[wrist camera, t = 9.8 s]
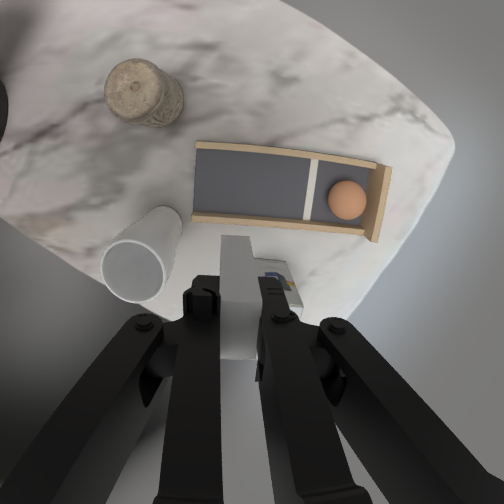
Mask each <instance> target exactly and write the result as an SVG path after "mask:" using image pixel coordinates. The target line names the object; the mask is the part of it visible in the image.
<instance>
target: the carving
mask: <svg viewBox="0 0 504 504" xmlns="http://www.w3.org/2000/svg"><path fill="white" fill-rule="evenodd" d="M104 95H105V100H106V103H107V106H108V108H109V110H110V111H111V113H112V114H113V115H114V116H115V117H116V118H118V119H120V120H121V121H123V122H126V123H129V124H132V125H137V126H146V127H163V126H167V125H168V124H170V123H171V122H173V121H174V120H175V119H176V118H177V117H178V116H179V114H180V113H181V111H182V108H183V92H182V90H181V88H180V86H179V84H178V83H177V81H176V80H175V79H174V78H173V77H172V76H170V75H168V74H167V73H166V72H164V71H163V70H161V69H159V68H158V67H157V66H156V65H155V64H153V63H151V62H150V61H148V60H144V59H130V60H126V61H124V62H122V63H120V64H118V65H117V66H116V67H114V68H113V70H112V71H111V72H110V74H109V76H108V78H107V80H106V83H105V87H104Z"/></svg>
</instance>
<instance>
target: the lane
mask: <svg viewBox="0 0 504 504" xmlns="http://www.w3.org/2000/svg"><path fill="white" fill-rule="evenodd" d="M195 148H197V153H196V167H195V184H194V203H193V213H192V215H191V222H206V223H221V224H235V225H249V226H262V227H275V228H288V229H300V230H311V231H323V232H334V233H345V234H355V235H364V236H365V237H366V238H367V239H368V240H369V241H370V242H376V243H378V238H379V234H380V230H381V225H382V220H383V216H384V211H385V206H386V201H387V195H388V190H389V184H390V179H391V173H392V167H389V166H386V165H382V164H379V163H375V162H370V161H365V160H360V159H354V158H349V157H343V156H337V155H331V154H324V153H317V152H310V151H303V150H296V149H288V148H279V147H270V146H260V145H250V144H238V143H224V142H208V141H196V143H195ZM341 181H353V182H355V183H357V184H358V185H360V186H361V187H362V189H363V190H364V192H365V194H366V200H367V202H366V207H365V209H364V211H363V212H362V214H361V215H359V216H358V217H356V218H354V219H350V220H346V219H341V218H339V217H337V216H336V215H335V214H334V213H333V212H332V211H331V209H330V207H329V204H328V196H329V192H330V190H331V189H332V187H333V186H334V185H335V184H337V183H338V182H341Z"/></svg>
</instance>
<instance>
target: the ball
mask: <svg viewBox="0 0 504 504" xmlns="http://www.w3.org/2000/svg"><path fill="white" fill-rule="evenodd" d="M366 202H367V200H366V194H365V192H364V190H363V189H362V187H361V186H360V185H358V184H357V183H355V182H353V181H341V182H338V183H337V184H335V185H334V186H333V187H332V189H331V190H330V192H329V196H328V204H329V207H330V209H331V211H332V212H333V213H334V214H335V215H336V216H337V217H339V218H341V219H346V220H350V219H354V218H356V217H358V216H359V215H361V214H362V212H363V211H364V209H365V207H366Z"/></svg>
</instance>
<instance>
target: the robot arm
mask: <svg viewBox="0 0 504 504" xmlns="http://www.w3.org/2000/svg"><path fill="white" fill-rule="evenodd" d="M7 112H8V101H7V94H6V90H5V87H4V85H3V83H2V82H1V81H0V141H1V138H2V136H3V133H4V129H5V126H6V120H7ZM183 314H184V315H183V317H182V318H180V319H178V320H176V321H172V322H166V323H162V320H161V319H160V318H159V317H158V316H156V315H153V314H147V313H144V314H138V315H135V316H133V317H131V318H130V319H129V320H128V321H127V322H126V323H125V324H124V325H123V326H122V328H121V329H120V330H119V331H118V332H117V334H116V335H115V336H114V337H113V338H112V340H111V341H110V342H109V343H108V344H107V346H106V347H105V348H104V349H103V351H102V352H101V353H100V354H99V355H98V357H97V358H96V359H95V360H94V362H93V363H92V364H91V366H90V367H89V368H88V369H87V370H86V372H85V373H84V374H83V375H82V377H81V378H80V379H79V380H78V382H77V383H76V384H75V386H74V387H73V388H72V389H71V391H70V392H69V393H68V394H67V396H66V397H65V398H64V400H63V401H62V402H61V404H60V405H59V406H58V407H57V409H56V410H55V411H54V413H53V414H52V415H51V417H50V418H49V420H48V421H47V422H46V423H45V425H44V426H43V427H42V429H41V430H40V432H39V433H38V434H37V436H36V437H35V438H34V440H33V441H32V443H31V444H30V445H29V447H28V448H27V450H26V451H25V453H24V454H23V455H22V457H21V458H20V460H19V461H18V463H17V464H16V466H15V467H14V468H13V470H12V471H11V473H10V474H9V476H8V477H7V479H6V480H5V482H4V483H3V485H2V486H1V488H0V504H105V503H106V501H107V499H108V497H109V495H110V493H111V491H112V489H113V487H114V485H115V483H116V481H117V479H118V477H119V475H120V473H121V471H122V469H123V467H124V465H125V464H126V462H127V460H128V457H129V456H130V454H131V452H132V449H133V448H134V446H135V444H136V442H137V440H138V438H139V436H140V434H141V432H142V430H143V428H144V426H145V424H146V422H147V420H148V418H149V417H150V415H151V413H152V411H153V409H154V407H155V405H156V403H157V401H158V399H159V397H160V395H161V393H162V391H163V389H164V387H165V386H166V384H167V382H168V379H169V376H173V379H172V386H171V393H170V399H169V406H168V414H167V421H166V429H165V437H164V445H163V453H162V463H161V472H160V482H159V491H158V495H157V496H156V497H155V498H154V501H153V504H224V501H223V482H222V453H221V409H220V408H221V405H220V359H256V354H257V356H258V362H257V370H256V378H255V381H256V382H257V381H258V382H259V390H260V398H261V406H262V413H263V420H264V428H265V436H266V442H267V450H268V457H269V465H270V472H271V480H272V487H273V494H274V501H275V504H373V503H372V500H371V497H370V495H369V493H368V491H367V490H366V489H365V488H364V487H361V486H358V485H356V484H355V483H354V481H353V478H352V475H351V472H350V469H349V466H348V462H347V459H346V456H345V453H344V450H343V447H342V444H341V441H340V438H339V435H338V432H337V428H336V425H337V427H338V428H339V430H340V431H341V433H342V434H343V436H344V437H345V439H346V440H347V442H348V443H349V445H350V446H351V448H352V449H353V451H354V452H355V454H356V455H357V457H358V458H359V460H360V461H361V463H362V464H363V466H364V467H365V469H366V470H367V472H368V473H369V474H370V476H371V477H372V479H373V480H374V482H375V483H376V485H377V486H378V488H379V489H380V491H381V492H382V493H383V495H384V496H385V498H386V499H387V501H388V502H389V504H504V481H502V480H501V479H499V478H497V477H495V476H493V475H492V474H490V473H488V472H487V471H486V470H485V469H484V467H483V466H482V465H481V464H480V463H479V462H478V460H477V459H476V458H475V457H474V456H473V455H472V454H471V453H470V451H469V450H468V449H467V448H466V447H465V446H464V445H463V444H462V442H461V441H459V439H458V438H457V437H456V436H455V435H454V433H453V432H452V431H451V430H450V429H449V428H448V427H447V426H446V425H445V424H444V423H443V421H442V420H441V419H440V418H439V417H438V416H437V415H436V414H435V413H434V411H433V410H432V409H431V408H430V407H429V406H428V405H427V404H426V403H425V402H424V401H423V399H422V398H421V397H420V396H419V395H418V394H417V393H416V392H415V391H414V390H413V389H412V388H411V387H410V385H409V384H408V383H407V382H406V381H405V380H404V379H403V378H402V377H401V376H400V375H399V374H398V372H397V371H396V370H395V369H394V368H393V367H392V366H391V365H390V364H389V363H388V362H387V361H386V360H385V359H384V358H383V357H382V356H381V355H380V353H378V351H377V350H376V349H375V348H374V347H373V346H372V345H371V344H370V343H369V342H368V341H367V340H366V339H365V338H364V336H363V335H362V334H361V333H360V332H359V331H358V330H357V329H356V328H355V327H354V326H353V325H352V324H351V323H349V322H348V321H346V320H344V319H342V318H337V317H328V318H326V319H323V320H322V321H321V322H320V326H315V325H310V324H306V323H303V322H301V321H300V320H299V317H298V315H297V314H296V313H295V312H293V311H292V310H290V308H289V305H288V302H287V299H286V296H285V293H284V290H283V287H282V284H281V282H280V281H279V280H278V279H277V278H275V277H258V276H257V272H256V267H255V262H254V257H253V252H252V247H251V242H250V238H249V236H230V235H221V256H220V276H210V275H198V276H197V277H196V278H194V279H193V281H192V286H191V288H189V289H188V290H186V291H185V292H184V294H183ZM335 424H336V425H335Z"/></svg>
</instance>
